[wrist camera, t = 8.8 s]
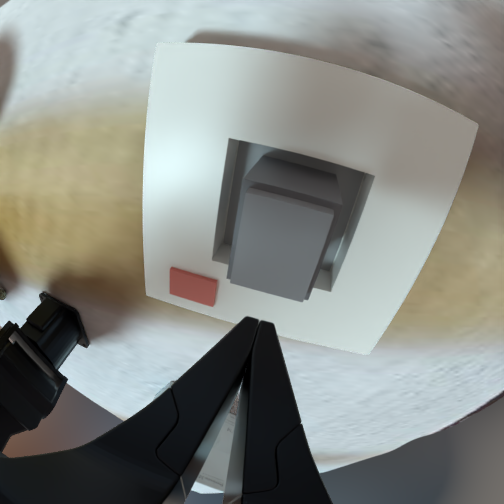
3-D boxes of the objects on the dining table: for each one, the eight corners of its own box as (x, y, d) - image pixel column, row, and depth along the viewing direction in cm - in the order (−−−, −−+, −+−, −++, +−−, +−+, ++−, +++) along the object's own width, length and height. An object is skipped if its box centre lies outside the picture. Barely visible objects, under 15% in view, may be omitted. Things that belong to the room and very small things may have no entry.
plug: (311, 253, 17) (307, 308, 13) (246, 235, 18) (222, 286, 13) (336, 174, 15) (344, 210, 10) (262, 155, 15) (239, 183, 11)
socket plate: (365, 330, 20) (368, 358, 18) (161, 275, 22) (144, 297, 19) (458, 118, 12) (481, 125, 9) (178, 47, 13) (153, 42, 11)
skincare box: (247, 418, 31) (226, 494, 22) (222, 429, 35) (201, 494, 26) (171, 378, 30) (135, 456, 21) (155, 394, 33) (123, 459, 24)
